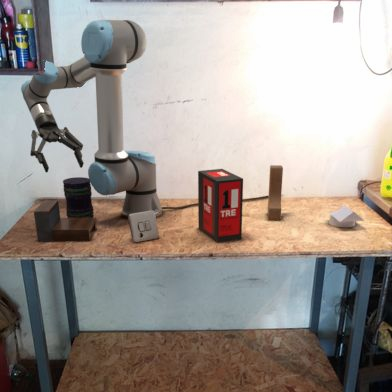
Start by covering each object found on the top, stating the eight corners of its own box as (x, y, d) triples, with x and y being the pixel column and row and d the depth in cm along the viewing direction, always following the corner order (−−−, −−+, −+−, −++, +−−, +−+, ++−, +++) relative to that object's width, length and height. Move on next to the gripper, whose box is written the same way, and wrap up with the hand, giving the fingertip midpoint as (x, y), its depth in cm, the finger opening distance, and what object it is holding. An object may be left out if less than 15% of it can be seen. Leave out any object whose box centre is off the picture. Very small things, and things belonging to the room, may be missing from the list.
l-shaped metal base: (96, 228, 205) (93, 199, 200) (89, 241, 192) (86, 211, 187) (47, 228, 205) (43, 200, 200) (37, 241, 193) (33, 211, 188)
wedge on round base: (363, 230, 200) (349, 219, 211) (366, 210, 197) (351, 201, 208) (338, 231, 199) (325, 220, 210) (341, 212, 196) (327, 202, 207)
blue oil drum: (79, 216, 218) (75, 176, 211) (100, 219, 214) (96, 179, 207) (61, 222, 211) (56, 181, 204) (82, 226, 207) (77, 184, 199)
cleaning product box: (241, 239, 192) (243, 178, 183) (217, 242, 190) (217, 181, 180) (221, 225, 206) (222, 168, 196) (198, 228, 203) (198, 170, 193)
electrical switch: (134, 243, 190) (131, 215, 186) (128, 240, 194) (125, 213, 190) (159, 238, 194) (157, 211, 190) (152, 236, 198) (150, 209, 194)
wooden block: (280, 220, 211) (283, 170, 202) (268, 220, 211) (271, 170, 202) (279, 213, 219) (282, 165, 210) (267, 213, 219) (270, 165, 210)
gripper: (73, 123, 224) (93, 169, 220) (10, 129, 211) (30, 178, 208) (77, 110, 217) (98, 157, 214) (12, 115, 205) (33, 165, 201)
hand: (65, 167), depth 211 cm, fingers open, 13 cm apart
